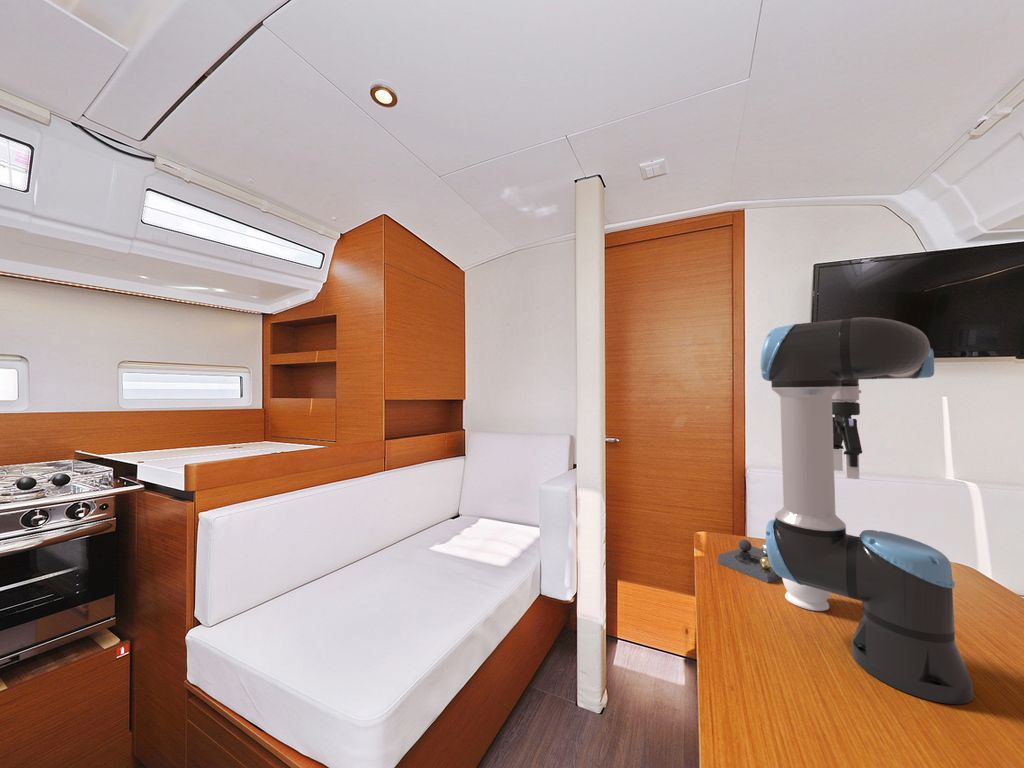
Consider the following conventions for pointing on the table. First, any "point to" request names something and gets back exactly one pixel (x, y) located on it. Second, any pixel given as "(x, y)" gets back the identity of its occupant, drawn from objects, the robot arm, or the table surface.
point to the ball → (764, 549)
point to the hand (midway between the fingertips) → (844, 474)
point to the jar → (806, 596)
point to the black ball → (745, 545)
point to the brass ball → (765, 563)
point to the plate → (748, 563)
